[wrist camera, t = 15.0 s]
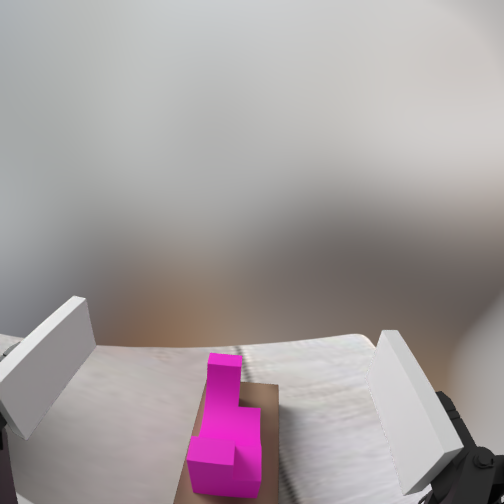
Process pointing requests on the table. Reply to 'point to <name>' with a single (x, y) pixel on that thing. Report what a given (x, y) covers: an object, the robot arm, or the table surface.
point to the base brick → (269, 439)
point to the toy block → (226, 436)
